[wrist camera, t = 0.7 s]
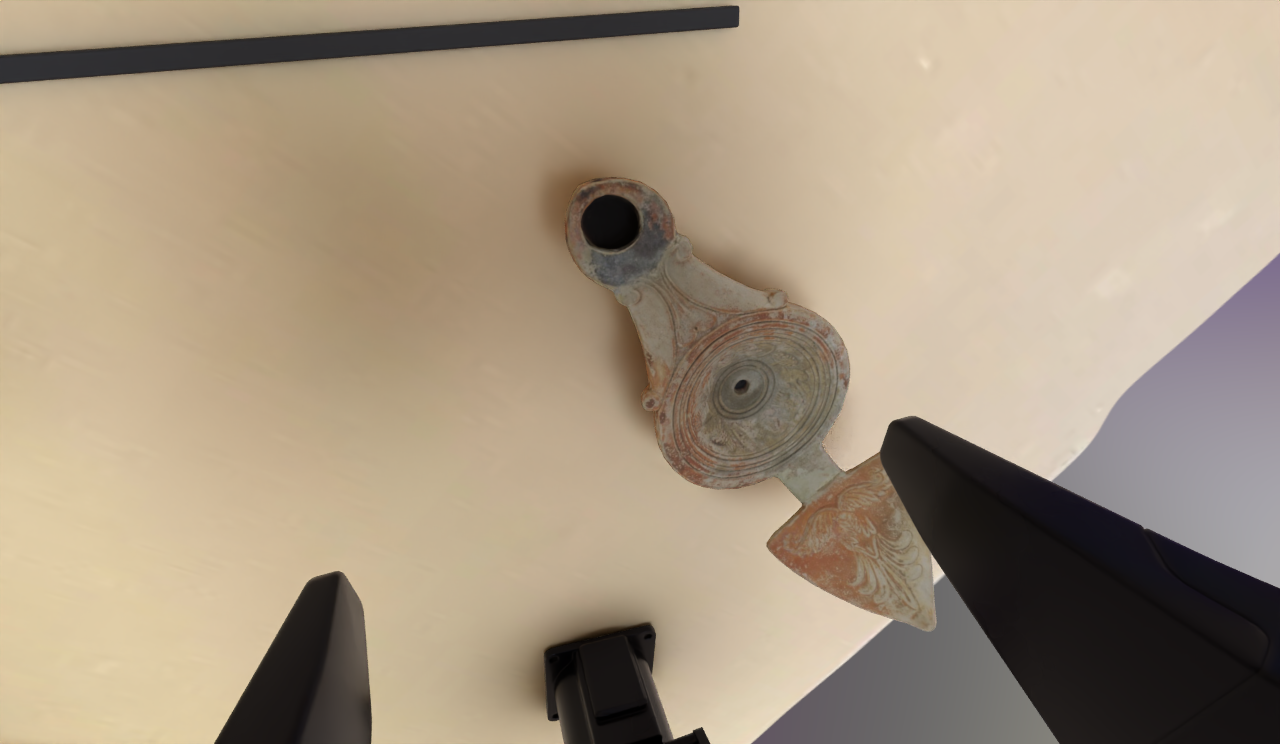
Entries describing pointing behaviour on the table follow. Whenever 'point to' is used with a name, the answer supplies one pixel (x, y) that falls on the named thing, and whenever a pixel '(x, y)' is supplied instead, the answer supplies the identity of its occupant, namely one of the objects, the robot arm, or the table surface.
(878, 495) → the oil lamp
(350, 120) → the table surface
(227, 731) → the robot arm
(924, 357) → the table surface
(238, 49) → the straight black rod
